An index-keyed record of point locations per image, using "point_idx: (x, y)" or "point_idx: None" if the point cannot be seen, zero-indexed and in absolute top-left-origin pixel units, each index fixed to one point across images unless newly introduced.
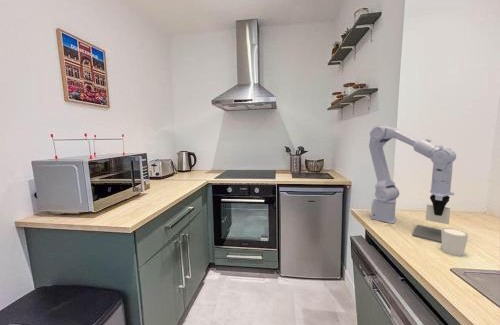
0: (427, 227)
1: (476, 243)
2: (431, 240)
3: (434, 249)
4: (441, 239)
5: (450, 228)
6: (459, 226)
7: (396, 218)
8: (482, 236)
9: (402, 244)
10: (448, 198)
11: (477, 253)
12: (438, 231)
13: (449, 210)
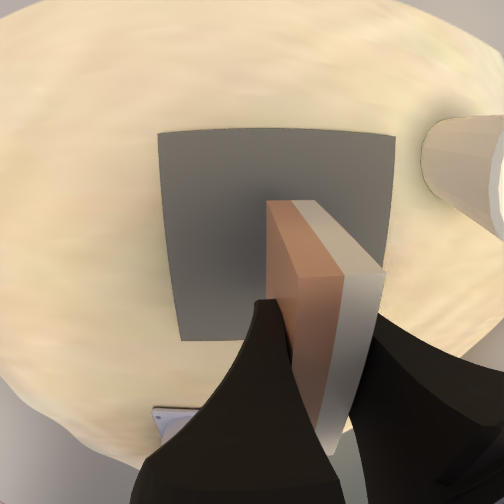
0: (182, 292)
1: (252, 36)
2: (381, 247)
3: (466, 226)
4: (359, 207)
5: (492, 200)
6: (4, 152)
7: (163, 412)
8: (90, 28)
9: (463, 323)
10: (330, 483)
11: (409, 58)
12: (212, 232)
13: (376, 267)
